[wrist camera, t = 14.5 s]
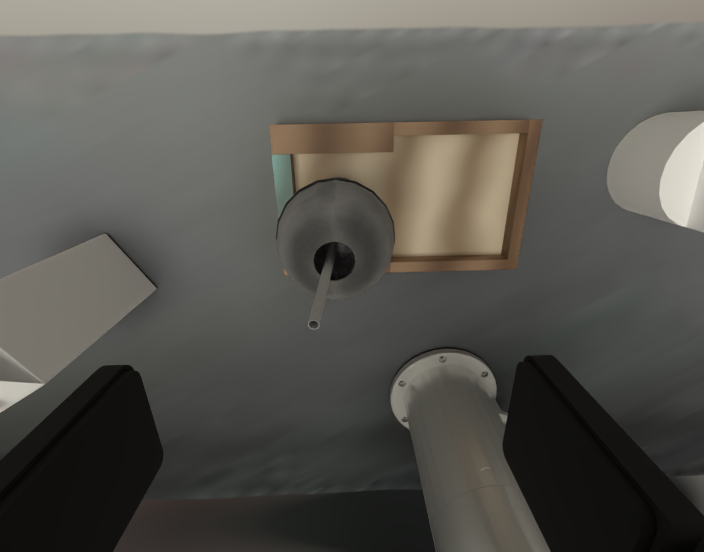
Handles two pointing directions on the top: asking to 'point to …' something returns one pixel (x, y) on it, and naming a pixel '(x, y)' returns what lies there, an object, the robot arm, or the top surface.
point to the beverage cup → (334, 240)
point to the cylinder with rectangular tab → (662, 169)
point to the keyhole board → (425, 183)
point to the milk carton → (62, 311)
